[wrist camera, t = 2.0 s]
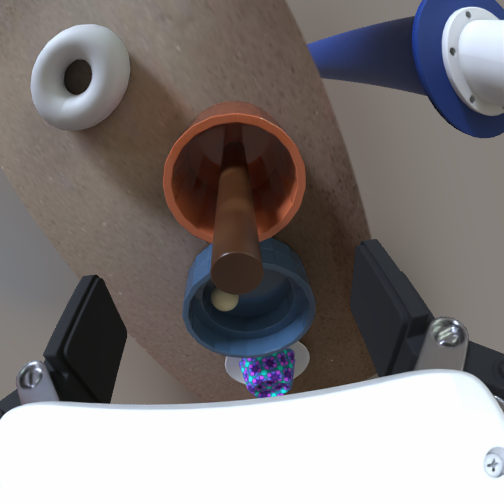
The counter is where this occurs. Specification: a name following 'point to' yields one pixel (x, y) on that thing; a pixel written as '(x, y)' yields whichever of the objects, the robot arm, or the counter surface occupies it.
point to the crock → (258, 161)
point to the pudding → (270, 370)
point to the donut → (102, 84)
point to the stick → (235, 227)
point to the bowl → (252, 306)
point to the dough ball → (223, 300)
